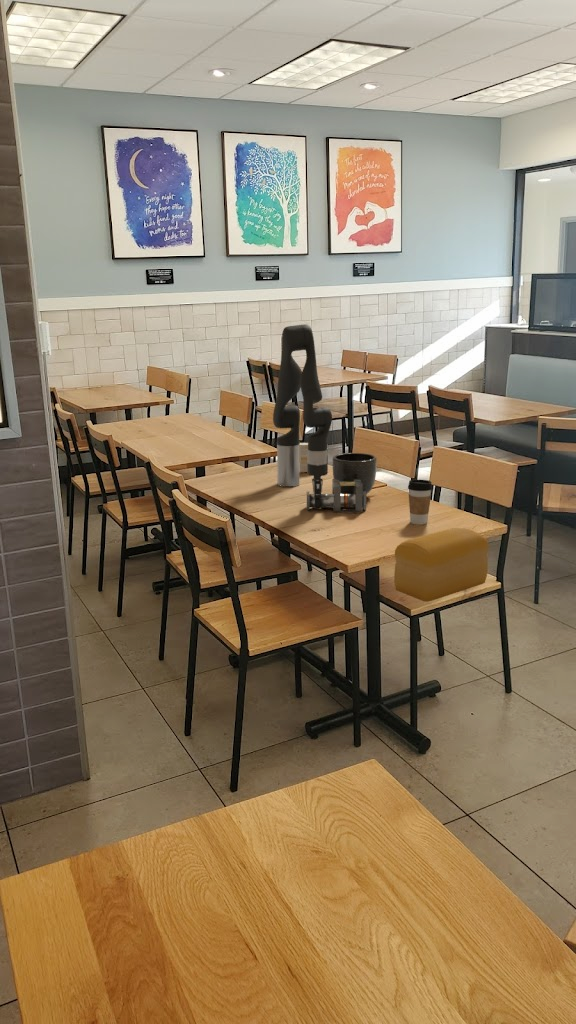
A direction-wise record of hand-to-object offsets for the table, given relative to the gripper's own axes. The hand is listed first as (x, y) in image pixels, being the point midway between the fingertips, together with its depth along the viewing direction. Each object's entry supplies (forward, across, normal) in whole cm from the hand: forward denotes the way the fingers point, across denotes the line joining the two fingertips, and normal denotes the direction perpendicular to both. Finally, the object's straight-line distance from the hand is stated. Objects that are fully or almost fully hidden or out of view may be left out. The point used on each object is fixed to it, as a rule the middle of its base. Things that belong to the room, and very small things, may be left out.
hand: (317, 506), depth 302 cm
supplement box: (+1, -63, -2) cm, 63 cm away
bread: (+1, +82, +32) cm, 88 cm away
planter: (+1, -18, +15) cm, 23 cm away
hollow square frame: (+1, 0, +11) cm, 11 cm away
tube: (+1, 0, +7) cm, 7 cm away
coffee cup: (+1, +19, +35) cm, 40 cm away
